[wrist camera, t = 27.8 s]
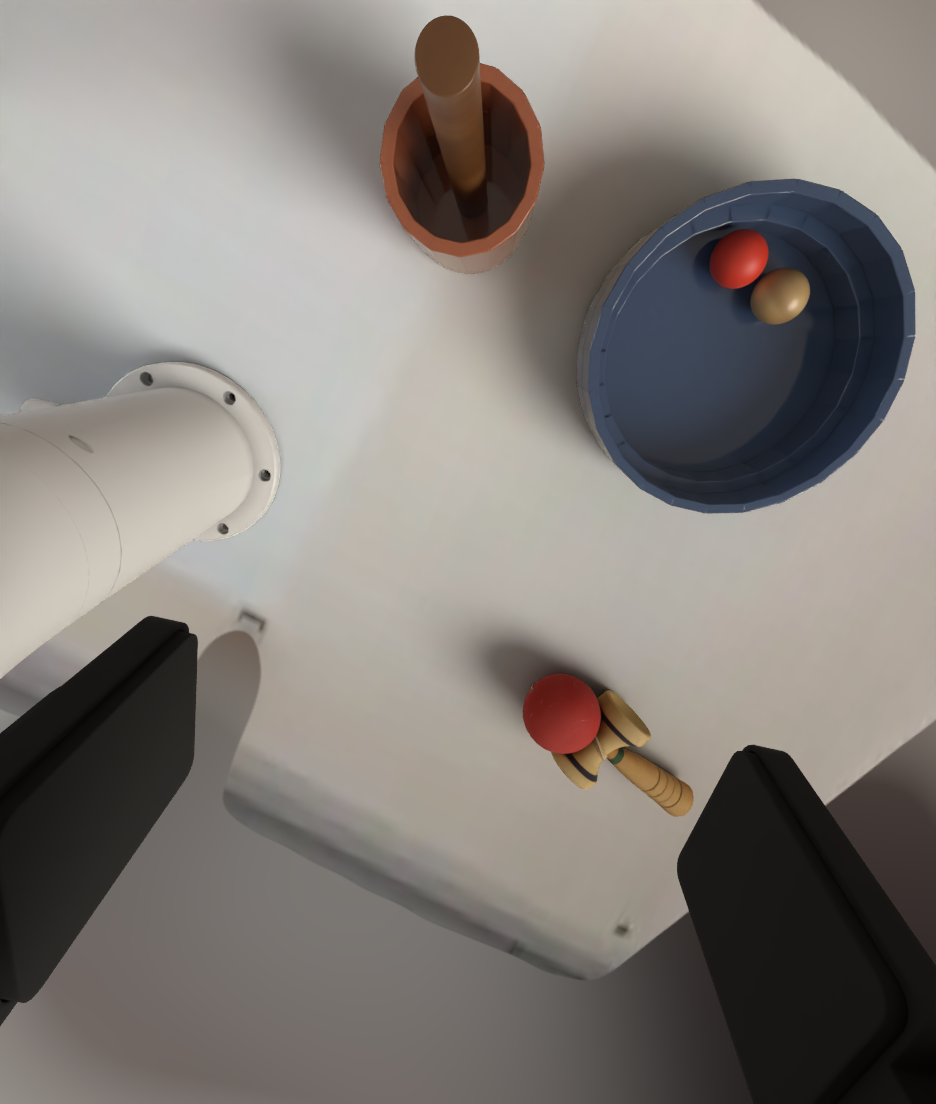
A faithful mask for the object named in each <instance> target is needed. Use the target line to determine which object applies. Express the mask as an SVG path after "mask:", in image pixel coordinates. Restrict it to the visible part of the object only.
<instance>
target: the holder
mask: <svg viewBox="0 0 936 1104" xmlns="http://www.w3.org/2000/svg"><path fill="white" fill-rule="evenodd" d="M480 77H481V94H482V111H483V128H484V145H485V162H486V180H487V197H488V203H487V207H486V210H485V211H484V213H483V214H482V215H481V216H479V217H477V218H474V219H471V218H467V217H465V216H464V215H462V214H461V212H460V211H459V209H458V206H457V203H456V199H455V196H454V193H453V189H452V186H451V183H450V179H449V176H448V173H447V170H446V166H445V163H444V160H443V156H442V153H441V150H440V146H439V143H438V140H437V137H436V133H435V130H434V127H433V123H432V120H431V117H430V114H429V110H428V107H427V104H426V100H425V97H424V94H423V90H422V87H421V84H420V81H419V77H417V78H416V79H415V80H414V81H413V82H411V83H410V84H409V85H408V86H407V87H406V88H404V89H403V91H402V92H401V94H400V96H399V98H398V99H397V101H396V103H395V105H394V107H393V109H392V111H391V113H390V115H389V117H388V119H387V121H386V123H385V124H386V125H385V126H384V133H383V140H382V148H381V155H380V168H381V173H382V178H383V183H384V188H385V193H386V198H387V200H388V203H389V204H390V206H391V208H392V209H393V211H394V213H395V214H396V216H397V218H398V220H399V221H400V223H401V225H402V226H403V228H404V229H405V230H406V232H407V233H408V234H409V235H410V236H411V237H412V238H413V240H414V241H415V242H416V243H417V244H418V245H419V246H420V247H421V248H422V250H423V251H424V252H425V253H426V254H427V255H428V256H430V257H431V258H432V259H433V260H435V261H436V262H437V263H438V264H440V265H441V266H442V267H444V268H446V269H448V270H451V271H454V272H457V273H463V274H477V273H482V272H486V271H489V270H491V269H493V268H495V267H497V266H499V265H500V264H502V263H503V262H504V261H505V260H507V259H508V258H509V257H510V256H511V255H512V254H513V253H514V251H515V250H516V249H517V247H518V246H519V244H520V242H521V241H522V239H523V237H524V236H525V234H526V232H527V229H528V226H529V222H530V219H531V216H532V213H533V210H534V207H535V203H536V200H537V196H538V192H539V187H540V183H541V179H542V174H543V170H544V154H543V144H542V134H541V127H540V124H539V122H538V120H537V118H536V116H535V114H534V111H533V109H532V107H531V105H530V103H529V101H528V99H527V97H526V95H525V93H523V90H522V89H520V88H519V87H518V86H517V85H516V84H515V83H514V82H512V81H511V80H510V79H509V78H508V77H507V76H506V75H504V74H503V73H502V72H501V71H500V70H499V69H496V68H495V67H493V66H489V65H485V64H481V63H480Z"/></svg>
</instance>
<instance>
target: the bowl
mask: <svg viewBox="0 0 936 1104" xmlns="http://www.w3.org/2000/svg"><path fill="white" fill-rule="evenodd" d="M740 229H750V230H754V231H756V232H758V233H760V234H761V235H762V236H763V237H764V239H765V241H766V243H767V246H768V260H767V263H766V266H765V268H764V270H763V271H762V273H761V274H760V275H759V276H758V278H757V279H755V280H754V281H753V282H752V283H750V284H748V285H746V286H744V287H741V288H736V289H729V288H725V287H722V286H720V285H719V284H717V283H716V282H715V280H714V279H713V277H712V275H711V272H710V258H711V254H712V252H713V250H714V248H715V246H716V245H717V244H718V242H719V241H720V240H721V239H722V238H723V237H725V236H726V235H727V234H729V233H731V232H733V231H736V230H740ZM901 249H902V248H901V247H900V246H899V244H898V243H897V241H896V240H895V239H894V237H893V236H892V234H891V233H890V232H889V230H888V229H887V228H886V226H885V225H884V223H883V222H882V221H881V219H880V218H879V217H878V215H876V214H875V213H874V212H872V211H871V210H869V209H868V208H867V207H865V206H864V205H862V204H861V203H859V202H858V201H856V200H855V199H853V198H852V197H850V196H849V195H847V194H846V193H844V192H843V191H840V190H839V189H835V188H831V187H828V186H824V185H820V184H816V183H812V182H808V181H805V180H801V179H782V180H765V181H751V182H746V183H744V184H741V185H738V186H735V187H732V188H729V189H727V190H724V191H721V192H718V193H715V194H713V195H710V196H707V197H704V198H703V199H700V200H699V201H697V202H696V203H694V204H693V205H691V206H689V207H688V208H686V209H685V210H683V211H682V212H680V213H678V214H677V215H675V216H674V217H672V218H671V219H669V220H668V221H666V222H665V223H663V224H662V225H660V226H659V227H657V228H656V229H654V230H653V231H651V232H650V233H648V234H647V235H645V236H644V237H643V238H641V239H640V240H638V241H637V242H636V243H635V244H634V245H633V246H632V248H631V249H630V250H629V251H628V252H627V253H626V254H625V255H624V256H623V257H622V258H621V260H620V261H619V262H618V263H617V264H616V265H615V266H614V267H613V268H612V269H611V271H610V272H609V273H608V275H607V276H606V278H605V280H604V282H603V284H602V285H601V287H600V289H599V291H598V293H597V294H596V296H595V298H594V300H593V302H592V303H591V305H590V307H589V309H588V312H587V316H586V319H585V323H584V326H583V330H582V333H581V337H580V340H579V344H578V352H577V389H578V393H579V398H580V402H581V406H582V411H583V415H584V418H585V421H586V422H587V424H588V426H589V428H590V430H591V432H592V433H593V435H594V437H595V439H596V441H597V443H598V444H599V446H600V447H601V449H602V450H603V451H604V452H605V453H606V454H607V455H608V457H609V458H610V459H611V460H612V461H613V462H614V463H615V464H616V465H617V466H618V467H619V468H620V469H621V470H622V471H623V472H624V473H625V474H626V475H627V476H628V477H629V478H630V479H631V480H632V481H633V482H634V483H635V484H636V485H637V486H638V487H639V488H640V489H642V490H643V491H645V492H647V493H649V494H651V495H653V496H654V497H656V498H658V499H660V500H662V501H664V502H665V503H667V504H669V505H672V506H676V507H680V508H684V509H689V510H693V511H697V512H702V513H743V512H748V511H752V510H756V509H760V508H764V507H767V506H771V505H775V504H779V503H782V502H785V501H787V500H789V499H791V498H793V497H794V496H796V495H798V494H800V493H802V492H804V491H806V490H808V489H810V488H812V487H814V486H816V485H818V484H820V483H822V482H823V481H824V480H825V479H826V478H828V477H829V476H830V475H831V474H833V473H834V472H835V471H836V470H838V469H839V468H840V467H841V466H843V465H844V464H845V463H846V462H848V461H849V460H850V459H851V458H852V457H854V455H856V454H857V452H858V451H859V450H860V449H861V447H862V446H863V445H864V444H865V443H866V441H867V440H868V439H869V438H870V436H871V435H872V434H873V433H874V432H875V430H876V429H877V428H878V427H879V426H880V424H881V423H882V422H883V420H884V419H885V417H886V415H887V413H888V411H889V409H890V407H891V405H892V403H893V401H894V399H895V397H896V395H897V393H898V391H899V390H900V388H901V386H902V384H903V382H904V379H905V375H906V371H907V367H908V363H909V359H910V355H911V351H912V347H913V343H914V339H915V292H914V291H915V289H914V286H913V283H912V280H911V276H910V273H909V270H908V267H907V264H906V260H905V257H904V254H903V251H902V250H901ZM779 268H794V269H796V270H799V271H800V272H802V273H803V274H804V275H805V276H806V278H807V279H808V282H809V285H810V295H809V299H808V302H807V304H806V306H805V307H804V309H803V310H802V311H801V312H800V313H799V314H798V315H797V316H796V317H795V318H793V319H792V320H790V321H788V322H785V323H782V324H777V325H771V324H766V323H763V322H761V321H760V320H758V319H757V318H756V317H755V316H754V314H753V312H752V310H751V305H750V300H751V295H752V292H753V289H754V287H755V286H756V284H757V283H758V281H759V280H760V279H761V278H762V277H763V276H765V275H766V274H768V273H769V272H771V271H773V270H776V269H779Z"/></svg>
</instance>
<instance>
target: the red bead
mask: <svg viewBox="0 0 936 1104" xmlns="http://www.w3.org/2000/svg"><path fill="white" fill-rule="evenodd" d="M767 260H768V246H767V243H766V241H765V239H764V237H763V236H762V235H761V234H760V233H758V232H756V231H754V230H750V229H740V230H736V231H733V232H731V233H729V234H727V235H726V236H725V237H723V238H722V239H721V240H720V241H719V242H718V244H717V245H716V246H715V248H714V250H713V252H712V254H711V258H710V272H711V275H712V277H713V279H714V280H715V282H716V283H717V284H719V285H720V286H722V287H725V288H729V289H736V288H741V287H744V286H746V285H748V284H750V283H752V282H753V281H754V280H755V279H757V278H758V276H759V275H760V274H761V273H762V271H763V270H764V268H765V266H766V263H767Z"/></svg>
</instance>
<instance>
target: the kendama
mask: <svg viewBox="0 0 936 1104" xmlns="http://www.w3.org/2000/svg"><path fill="white" fill-rule="evenodd" d="M523 719H524V723H525V726H526V729H527V731H528V733H529V734H530V736H531V737H532V738H533V739H534V741H535V742H536V743H537V744H539V745H540V746H541V747H543V748H544V749H546V750H549V751H551V753H552V756H553V758H554V760H555V761H556V763H557V765H558V766H559V767H560V769H561V770H562V771H563V773H564V774H565V775H566V776H567V777H568V778H569V779H570V780H571V781H572V782H573V783H574V784H576V785H577V786H578V787H580V788H582V789H588V788H590V787H591V786H593V785H594V784H595V783H596V782H597V773H598V769H599V766H600V764H601V762H602V760H605V759H606V758H607V759H608V760H609V761H610V762H611V763H612V764H613V765H614V766H615V767H616V768H617V769H618V770H619V771H620V772H621V773H622V774H623V775H624V776H625V777H626V778H627V779H629V780H630V781H631V782H632V783H633V784H634V785H636V786H637V787H638V788H639V789H641V790H642V791H643V792H644V793H645V794H647V795H648V796H649V797H650V798H652V799H653V800H654V801H655V802H656V803H658V804H659V805H660V806H661V807H662V808H663V809H664V810H665V811H666V812H668V813H669V814H671V815H673V816H676V817H678V816H683V815H685V814H686V813H687V812H688V811H689V810H690V809H691V807H692V804H693V792H692V790H691V788H690V786H689V785H687V784H686V783H684V782H683V781H681V780H679V779H677V778H675V777H674V776H672V775H670V774H669V773H667V772H665V771H664V770H662V769H661V768H659V767H657V766H656V765H654V764H653V763H651V762H650V761H648V760H646V759H645V758H643V757H641V756H639V755H638V754H636V753H634V752H632V751H630V750H628V749H626V748H624V747H625V746H636V747H641V746H643V745H644V744H645V743H646V742H647V741H648V740H649V739H650V738H651V735H650V732H649V730H648V728H647V727H646V725H645V724H644V723H643V721H642V720H641V719H640V718H639V716H638V715H637V714H636V713H635V712H634V711H633V710H632V709H631V708H630V707H629V706H628V705H627V704H626V703H625V702H624V701H623V700H622V699H621V698H620V697H619V696H618V695H616V694H615V693H614V692H612V691H609V690H607V691H605V692H604V693H603V694H602V695H600V696H599V697H598V698H597V697H596V696H595V694H594V692H593V691H592V689H591V688H590V687H589V686H588V685H587V684H586V683H584V682H583V681H582V680H580V679H578V678H577V677H574V676H571V675H568V674H551V675H548V676H546V677H543V678H542V679H540V680H539V681H537V682H536V683H533V684H532V686H531V689H530V690H529V692H528V693H527V696H526V698H525V701H524V705H523Z"/></svg>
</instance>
